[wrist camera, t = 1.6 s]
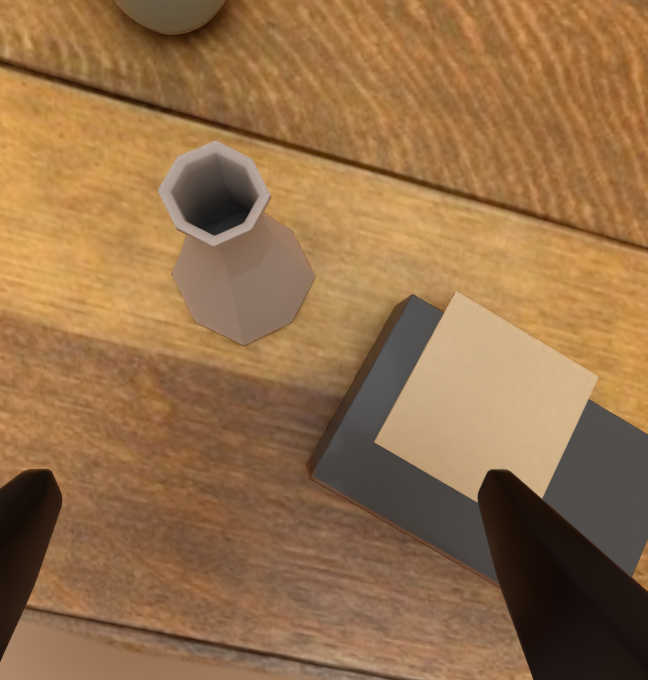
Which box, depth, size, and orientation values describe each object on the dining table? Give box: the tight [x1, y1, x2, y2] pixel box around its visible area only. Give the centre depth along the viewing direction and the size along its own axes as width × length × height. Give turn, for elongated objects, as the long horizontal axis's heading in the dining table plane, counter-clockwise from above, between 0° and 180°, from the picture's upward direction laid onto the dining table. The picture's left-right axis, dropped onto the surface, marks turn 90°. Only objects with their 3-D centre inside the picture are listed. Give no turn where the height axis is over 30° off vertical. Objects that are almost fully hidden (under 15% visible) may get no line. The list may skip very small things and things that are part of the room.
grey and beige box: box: [306, 291, 648, 589], centre depth 21 cm, size 11×16×3 cm
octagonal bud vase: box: [158, 141, 315, 346], centre depth 17 cm, size 7×7×10 cm
